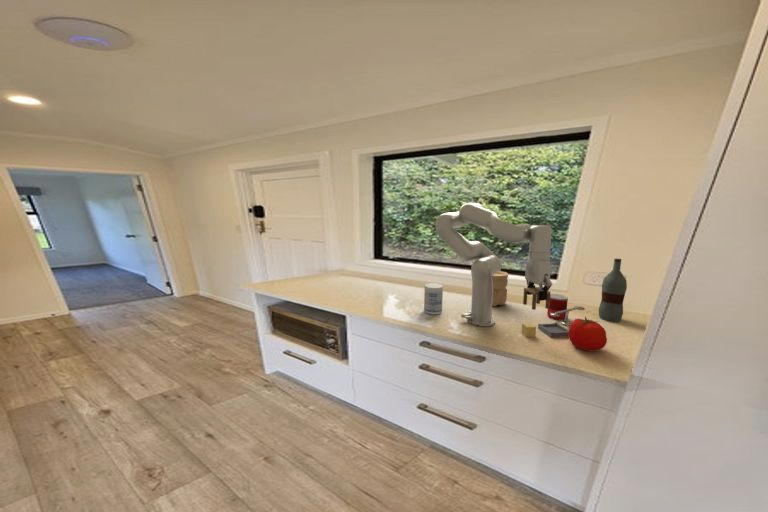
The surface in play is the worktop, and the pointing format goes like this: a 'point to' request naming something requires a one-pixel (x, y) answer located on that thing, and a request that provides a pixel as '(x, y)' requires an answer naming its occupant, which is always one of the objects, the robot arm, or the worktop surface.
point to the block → (528, 329)
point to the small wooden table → (535, 300)
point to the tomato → (587, 334)
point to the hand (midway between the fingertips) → (536, 296)
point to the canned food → (557, 306)
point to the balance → (566, 314)
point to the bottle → (613, 294)
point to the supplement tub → (433, 298)
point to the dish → (553, 330)
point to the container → (499, 288)
